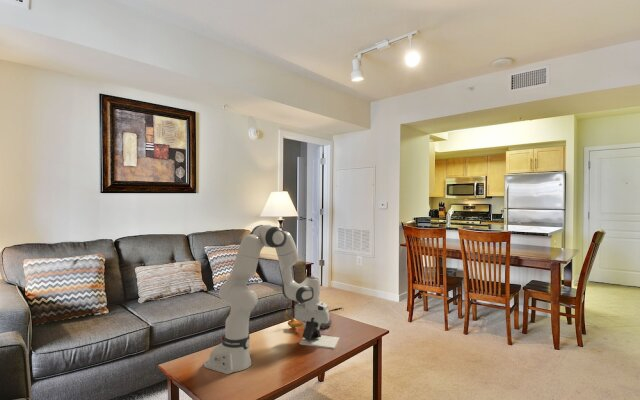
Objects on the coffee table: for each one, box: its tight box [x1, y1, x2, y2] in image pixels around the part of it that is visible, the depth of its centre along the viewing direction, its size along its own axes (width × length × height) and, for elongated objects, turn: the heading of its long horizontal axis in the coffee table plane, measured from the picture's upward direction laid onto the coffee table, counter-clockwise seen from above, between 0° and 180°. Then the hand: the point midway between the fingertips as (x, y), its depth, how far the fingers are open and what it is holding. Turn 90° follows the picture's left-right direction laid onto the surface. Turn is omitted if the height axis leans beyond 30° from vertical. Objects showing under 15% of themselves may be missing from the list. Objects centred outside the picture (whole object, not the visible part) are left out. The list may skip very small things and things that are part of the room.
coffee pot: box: [317, 306, 344, 329], centre depth 213 cm, size 21×12×15 cm, turn 50°
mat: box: [299, 334, 341, 350], centre depth 191 cm, size 20×14×1 cm
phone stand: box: [301, 318, 321, 341], centre depth 193 cm, size 9×6×12 cm, turn 126°
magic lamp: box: [284, 309, 307, 332], centre depth 208 cm, size 7×18×11 cm, turn 54°
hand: (311, 328), depth 193 cm, fingers closed on phone stand, 6 cm apart
